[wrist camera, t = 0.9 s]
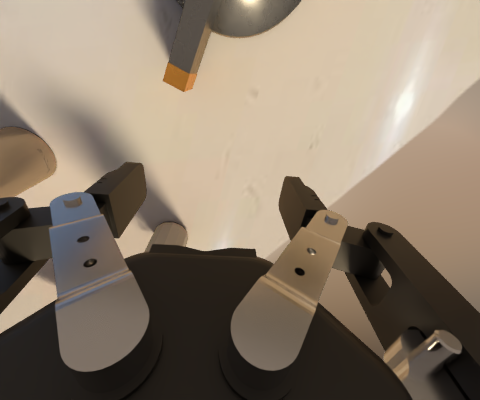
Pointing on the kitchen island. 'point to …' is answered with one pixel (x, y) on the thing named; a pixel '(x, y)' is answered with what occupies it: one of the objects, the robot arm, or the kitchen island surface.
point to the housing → (249, 16)
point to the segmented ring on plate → (190, 42)
